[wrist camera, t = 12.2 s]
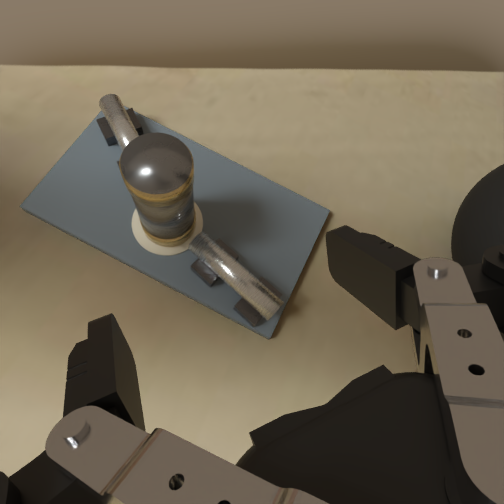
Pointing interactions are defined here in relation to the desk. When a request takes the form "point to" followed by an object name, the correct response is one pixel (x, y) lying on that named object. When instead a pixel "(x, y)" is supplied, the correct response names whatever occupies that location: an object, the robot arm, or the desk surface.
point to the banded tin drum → (161, 186)
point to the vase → (479, 220)
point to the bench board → (207, 219)
